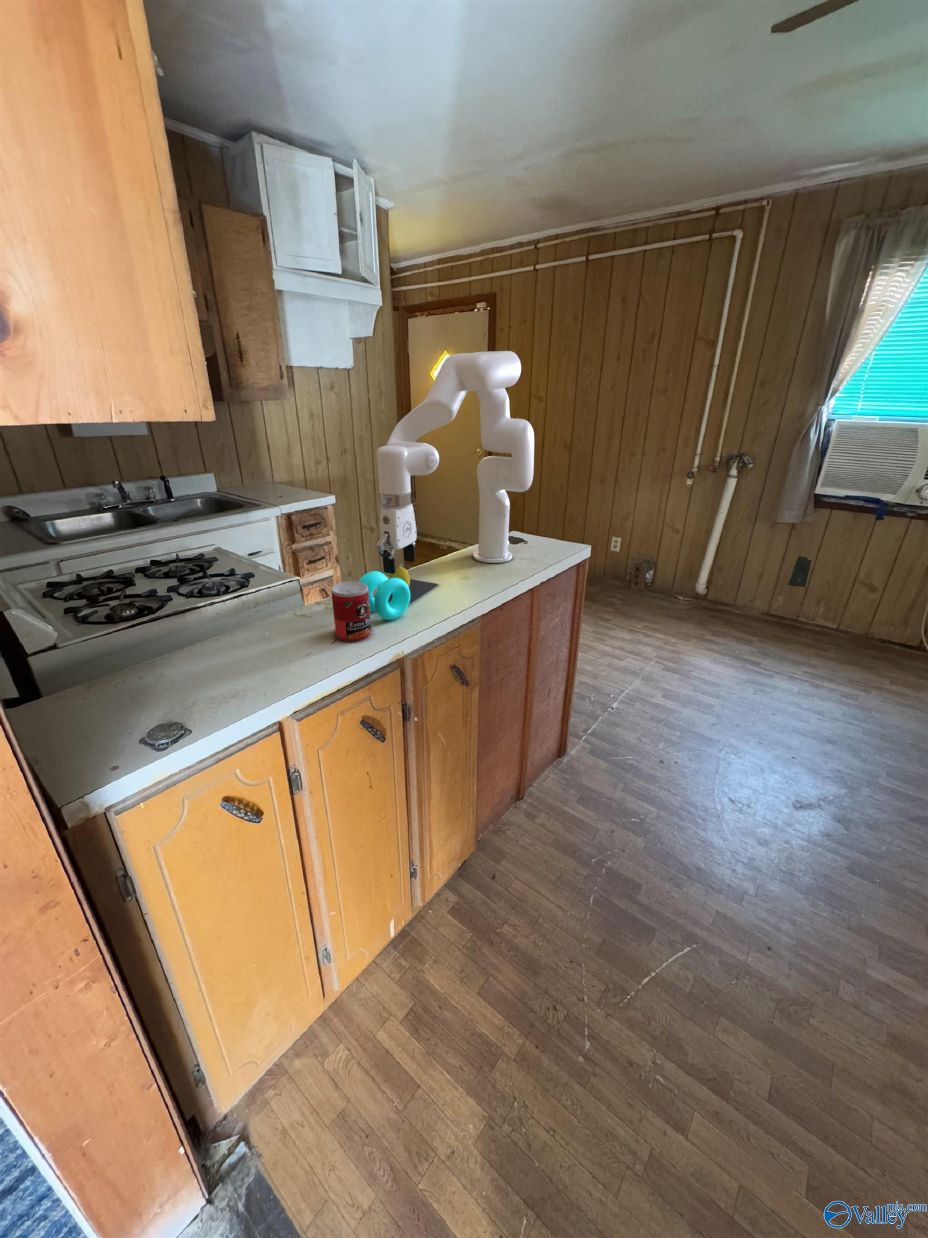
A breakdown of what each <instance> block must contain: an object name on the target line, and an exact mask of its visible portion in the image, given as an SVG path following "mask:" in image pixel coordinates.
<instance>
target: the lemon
mask: <svg viewBox="0 0 928 1238" xmlns="http://www.w3.org/2000/svg"><path fill="white" fill-rule="evenodd" d="M395 570H396V573H395V574H391V573H388V577H387V578H388V579H390V578H399V579H402V580H403V581H405V582H406V584H407V585H408V587H409V585H410V579H411V578H410V574H409V571H408V570H407V569H406V568H405V567H403V566H401V565H396V566H395Z"/></svg>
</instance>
